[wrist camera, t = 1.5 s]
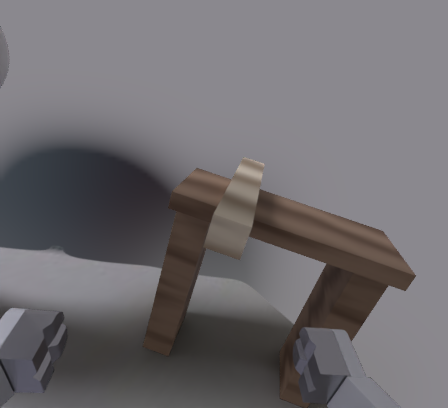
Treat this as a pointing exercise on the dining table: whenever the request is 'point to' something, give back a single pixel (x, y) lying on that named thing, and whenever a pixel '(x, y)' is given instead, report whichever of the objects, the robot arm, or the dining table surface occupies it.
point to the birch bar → (236, 211)
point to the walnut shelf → (288, 239)
